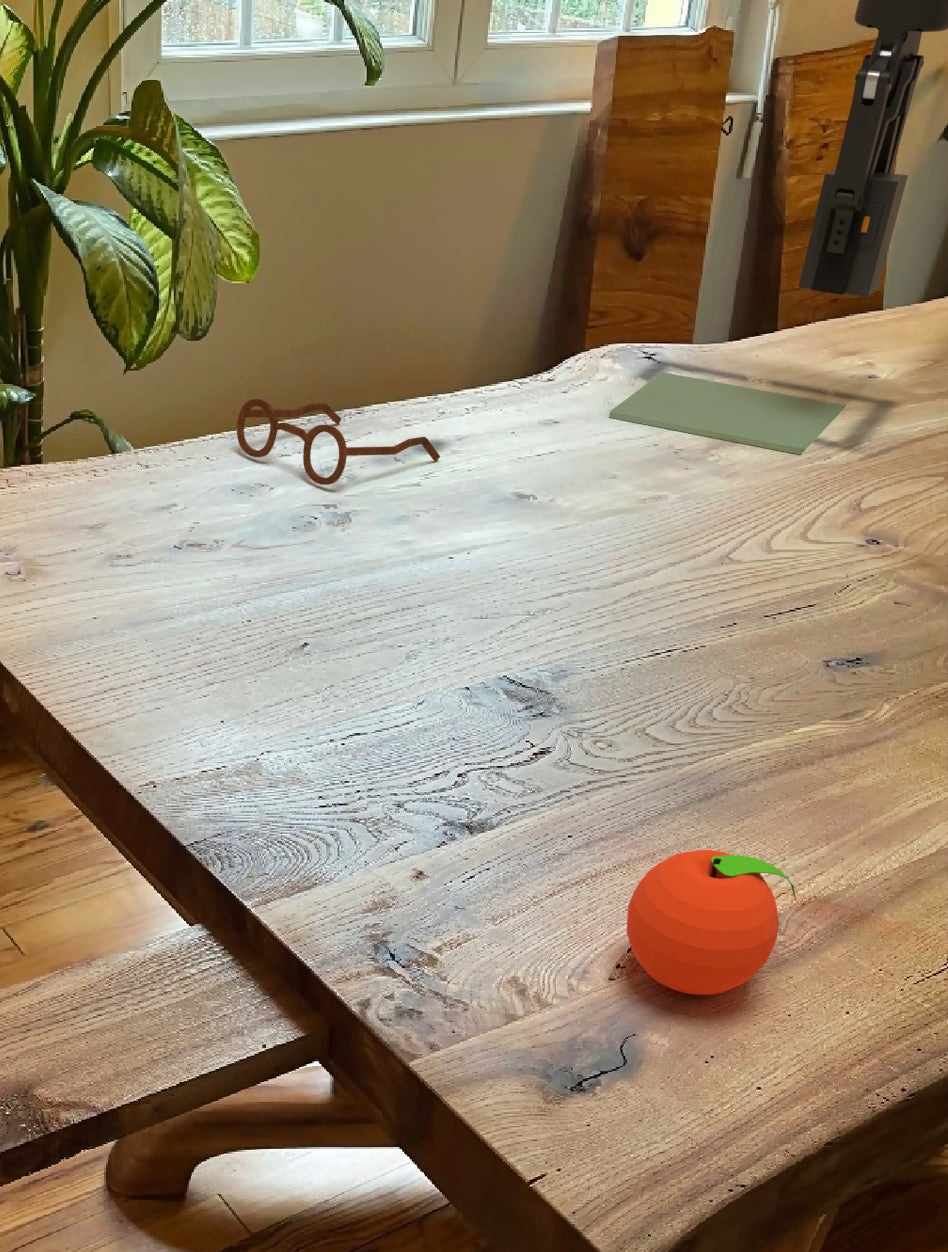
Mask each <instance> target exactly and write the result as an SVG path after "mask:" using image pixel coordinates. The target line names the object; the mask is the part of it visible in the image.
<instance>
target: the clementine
mask: <svg viewBox="0 0 948 1252" xmlns="http://www.w3.org/2000/svg"><path fill="white" fill-rule="evenodd" d="M761 874H772V875H776V876H779V877H782V878H784V879H786V880H787V881H788V882H789V884H790V887H791V891H792V893H793V897H794V900H797V896H796V890H795V885H794V884H793V883H792V882H791V880H790V879H789V878H788V876H787V875H786V874H785V873H784V872H783V871H782V870H781V869H779V868H778V867H776V866H774V865H773V864H771V863H769V862H767V861H764V860H762V859H759V858H755V857H751V856H745V855H738V854H736V855H735V854H730V853H727V852H724V851H721V850H714V849H698V850H689V851H685V852H679V853H676V854H674V855H671V856H669V857H667V858H666V859H664V860H663V861H661V862H659V863H657V864H656V865H655V866H654V867H652V868H651V869H649V871H647V873H646V874H645V875H644V876H643V877H642V878H641V880H640V881H639V882H638V884H637V885H636V887H635V888H634V891H633V893H632V895H631V898H630V900H629V902H628V905H627V917H626V918H627V919H626V935H627V938H628V942H629V946H630V948H631V951H632V954H633V957H634V958H635V959H636V960H637V962H638V963H639V964H640V966H641V967H642V969H644V970H645V972H646V973H647V974H648V976H650V977H651V979H654V981H656V982H657V983H659V984H661V985H663V986H665V987H667V988H669V989H671V990H673V991H676V992H681V993H684V994H690V995H696V996H697V995H699V996H703V995H707V996H708V995H709V996H710V995H711V996H712V995H716V994H721V993H725V992H727V991H729V990H732V989H734V988H736V987H738V986H741V985H743V984H745V983H747V982H748V981H749V980H750V979H751V978H752V977H753V976H754V975H755V974H757V973H758V971H759V970H760V969H761V968H763V967H764V966H765V965H766V963H767V961H768V959H769V957H770V955H771V953H772V951H773V949H774V947H775V944H776V942H777V940H778V933H779V924H780V921H779V913H778V912H779V911H778V907H777V902H776V898H775V895H774V894H773V892H772V890H771V889H770V887H769V885H768V883H767V881H766V880H765V878H764V877H763V876H762V875H761Z"/></svg>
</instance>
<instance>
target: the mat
mask: <svg viewBox="0 0 948 1252" xmlns="http://www.w3.org/2000/svg"><path fill="white" fill-rule="evenodd" d="M847 406H848V405H845V404H841V403H835V402H830V401H824V400H818V399H813V398H807V397H802V396H796V395H791V394H785V393H780V392H775V391H769V390H763V389H758V388H751V387H746V386H741V385H735V384H729V383H724V382H719V381H713V380H707V379H703V378H697V377H690V376H685V375H681V374H674V373H669V372H664V371H663V372H660V373H659V374H658V375H657V376H654V378H653V379H651V380H650V381H649V382H646V384H644V385H643V386H642V387H640V388H639V389H637V391H635V392H634V393H632V394H630V396H628V397H627V398H625V399H624V400H623V401H622V402H620V403H619V404H618V405H616V406H615V407H613V408H612V409H610V411H609V415H608V418H611V419H615V420H620V421H624V422H625V421H627V422H632V423H636V424H642V425H646V426H652V427H657V428H663V429H667V430H671V431H678V432H682V433H686V434H693V435H698V436H703V437H707V438H712V439H718V440H722V441H728V442H733V443H739V444H744V445H748V446H754V447H759V448H763V449H767V450H774V451H779V452H785V453H789V454H795V455H800V456H802V454H803V453H804V452H805V451H806V450H807V449H808V448H809V447H810V446H811V445H812V444H813V443H814V441H816V439H817V438H818V437H820V436H821V434H822V433H823V432H824V431H825V430H826V429H827V427H829V425H831V423H832V422H833V421H834V420H835V419H836V418H837V417H838V416H839V415H840V414H841V412H843V411H844V409H846V408H847Z"/></svg>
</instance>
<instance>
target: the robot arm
mask: <svg viewBox="0 0 948 1252" xmlns="http://www.w3.org/2000/svg"><path fill="white" fill-rule="evenodd" d="M854 21H855V23H856V24H857V25H858V26H860V27H863V28H869V29H876V30H877V36H876V39H875V41H874V45H873V47H872V51H871V54H865V56H864V57H863V61H862V64H861V68H859V69H858V72H857V73H856V74H855V77H854V81H855V83H854V89H853V93H852V94H853V95H852V100H851V105H850V108H849V113H848V117H847V122H846V126H845V130H844V133H843V138H842V142H841V147H840V150H839V155H838V159H837V162H836V166H835V168H836V171H835V175H834V179H833V183H832V187H831V191H830V193H829V195H828V200H826V199H824V200H823V204H822V207H823V208H829V209H831V213H830V217H829V221H828V225H827V229H826V233H825V237H824V241H823V245H822V249H821V253H820V257H819V261H818V265H817V269H816V273H815V277H814V281H813V285H812V289H810V290H811V291H814V292H822V293H827V294H835V295H841V296H843V295H845V294H844V293H845V290H846V286H847V282H848V279H849V275H850V271H851V267H852V263H853V259H854V256H855V252H856V248H857V244H858V240H859V236H860V233H861V229H862V225H863V221H864V217H865V214H866V211H862V210H863V208H864V207H865V205H866V202H865V201H866V198H867V194H868V191H869V188H870V184H871V181H872V177H873V174H874V172H882V173H892V174H893V169H894V166H895V162H896V158H897V156H898V155H897V154H898V151H899V147H900V145H901V140H902V136H903V133H904V132H903V131H904V129H905V125H906V122H907V118H908V114H909V110H910V106H911V103H912V99H913V96H914V92H915V88H916V85H917V82H918V79H919V76H920V74H921V70H922V68H923V66H924V63H925V60H924V58H925V57H924V55H921V54H918V53H919V49H920V44H921V40H922V36H923V35H922V34H923V33H934V32H944V31H947V30H948V0H858V1H857V6H856V9H855V14H854ZM846 189H850V190H846Z"/></svg>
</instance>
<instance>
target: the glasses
mask: <svg viewBox="0 0 948 1252" xmlns="http://www.w3.org/2000/svg"><path fill="white" fill-rule="evenodd" d="M254 407H259V409H258V408H254ZM253 408H254V409H253ZM260 408H261V409H260ZM318 411H322V412H323V413H324V414H325V415H326V416H327V417H329V418H330V420H332V421H333V422H334V423H335V424H336V425H339V424H340V423H341V421H342V417H340V416H339V415H338V414H337V412H336V411H334V410H333V409H332V408H331V407H330V406H329V404H327V403H326V402H317V403H310V404H306V405H303V406H300V407H297V408H295V409H281V408H280V409H277V408H276V409H275V408H273V407H272V405H271V404H270V403H269V402H267V401H266V400H264V399H260V398H252V399H248V400H247V401H246V402H245V403H244V404H243V405H242V407H241V409H240V410H239V414H238V416H237V420H236V437H237V442H238V444H239V446H240V448H241V450H242V451H243V453H245V454H246V455H248V456H250V457H251V458H252V457H253V458H263V457H266V456H268V455H269V454H270V452H271V451H272V449H273V447H274V445H275V442H276V439H277V436H278V431H284V432H286V433H289V434H291V435H294V436H297V437H299V438H300V439H301V440H302V441H303V452H302V461H303V469H304V471H305V473H306V476H308V478H309V479H310V480H311V481H313V483H316V484H318V485H321V486H327V485H328V486H329V485H333V484H335V483H337V481H338V480H339V479H340V478H341V476H342V475H343V473H344V471H345V467H346V464H347V457H353V456H354V457H355V456H357V457H358V456H393V455H397V454H399V453H401V452H403V451H405V450H407V449H408V448H411V447H416V446H419V445H421V446H422V447H423V449H424V450H425V451H426V453H427V454H428V455H429V456H430V458H431V459H432V460H433V462H435V463H437V462H438V460H439V459H440V458H441V456H440V454H439V453H438V451H437V450H436V449H435V447H434V446H433V444H432V443H431V441H430V440H429V438H427V437H426V436H418V437H411V438H408V439H406V440H404V441H402V442H400V443H397V444H396V445H393V446H388V445H387V446H349V447H348V446H347V443H346V439H345V437H344V435H343V434H342V432H341V431H340V430H339V429H338V428H337V427H335V426H333V425H330V424H317V425H316V426H314V427H312V428H311V429H310V430H308V432H306V431H305V429H303V428H301V427H299V426H296V425H294V424H291V423H288V422H279V419H278V418H298V417H301V416H303V415H306V414H308V413H311V412H318ZM246 418H268V420H269V427H270V428H269V434H268V438H267V441H266V442H265V445H264V446H263V447H262V448H261V449H259V450H257V449H254V448H252V447H251V446H250V444H248V442H247V439H246V436H245V423H246ZM321 433H327V434H330V435H331V436H332V437H333V439H335V442H336V444H337V447H338V461H337V464H336V466H335V470H334V471H333V472H332V474H331V475H329V476H328V477H323V476H321V475H319V474H318V473H317V472H316V471H315V469H314V468H313V465H312V459H311V452H312V446H313V442H314V440H315V438H316V437H317V436H318V435H319V434H321Z"/></svg>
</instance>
